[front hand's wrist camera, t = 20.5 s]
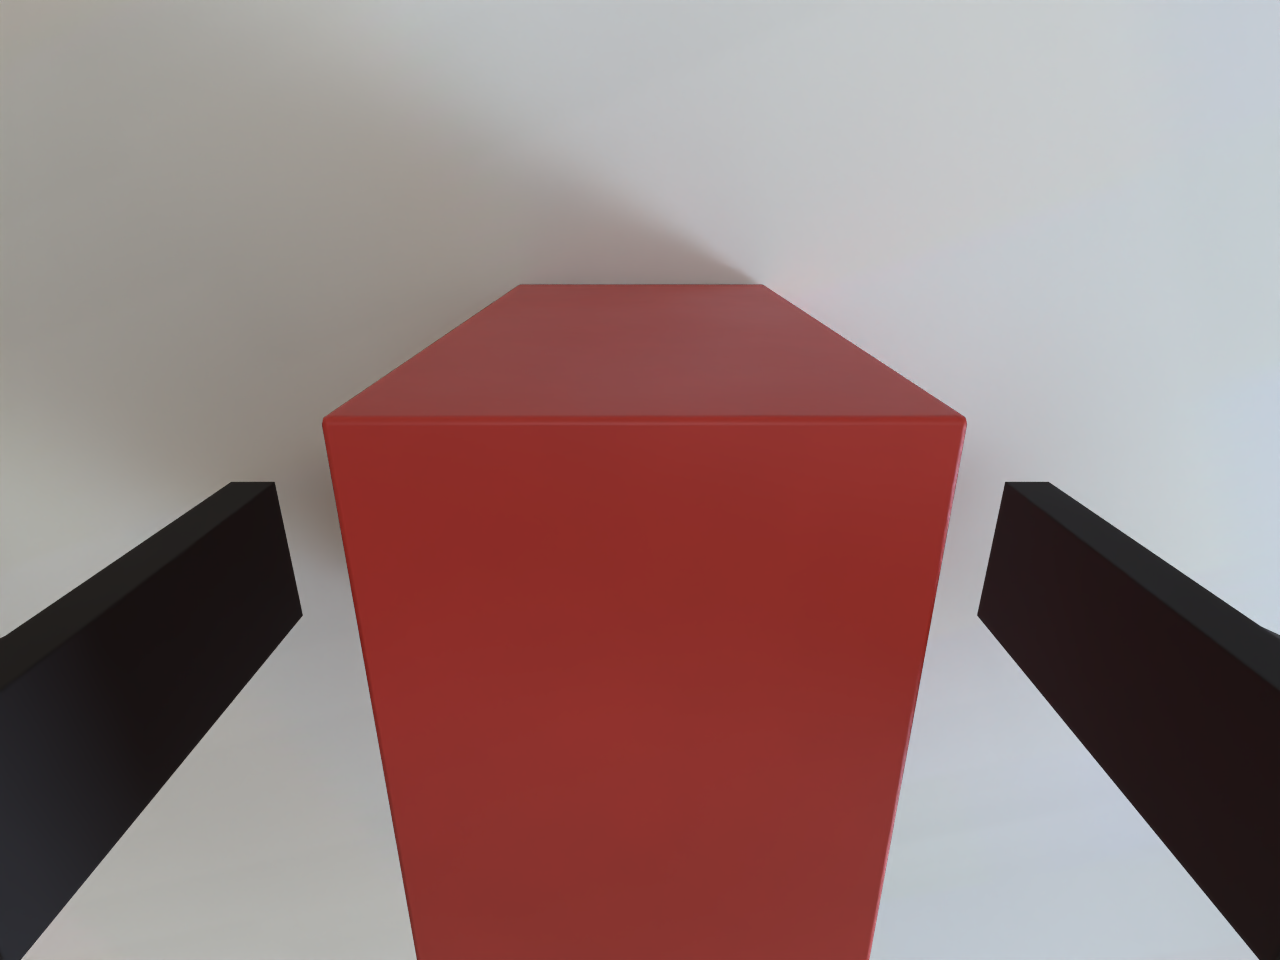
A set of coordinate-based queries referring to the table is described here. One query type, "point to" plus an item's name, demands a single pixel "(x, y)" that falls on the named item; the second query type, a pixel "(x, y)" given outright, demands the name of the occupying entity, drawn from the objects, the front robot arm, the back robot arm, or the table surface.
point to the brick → (643, 621)
